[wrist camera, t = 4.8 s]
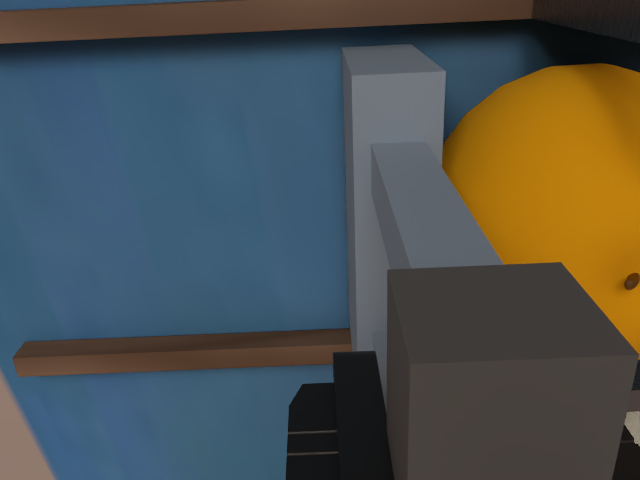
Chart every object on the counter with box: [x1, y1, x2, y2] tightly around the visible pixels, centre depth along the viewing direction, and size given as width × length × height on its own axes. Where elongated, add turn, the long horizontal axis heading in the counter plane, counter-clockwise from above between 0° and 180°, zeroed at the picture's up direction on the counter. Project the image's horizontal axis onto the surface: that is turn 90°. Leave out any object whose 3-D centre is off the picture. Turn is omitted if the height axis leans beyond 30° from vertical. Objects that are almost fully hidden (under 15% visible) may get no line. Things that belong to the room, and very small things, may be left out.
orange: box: [442, 63, 640, 360], centre depth 16 cm, size 8×8×8 cm
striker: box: [342, 44, 639, 480], centre depth 13 cm, size 9×2×14 cm, turn 3°
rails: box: [0, 0, 533, 377], centre depth 19 cm, size 12×17×1 cm
